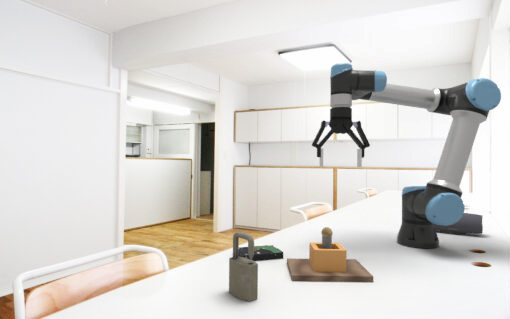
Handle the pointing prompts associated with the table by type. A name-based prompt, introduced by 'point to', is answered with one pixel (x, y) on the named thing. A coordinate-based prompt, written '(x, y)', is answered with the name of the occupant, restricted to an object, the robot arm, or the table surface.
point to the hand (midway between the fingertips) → (340, 167)
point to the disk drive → (262, 253)
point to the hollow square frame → (327, 258)
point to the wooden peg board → (305, 272)
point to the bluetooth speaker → (464, 225)
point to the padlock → (243, 270)
